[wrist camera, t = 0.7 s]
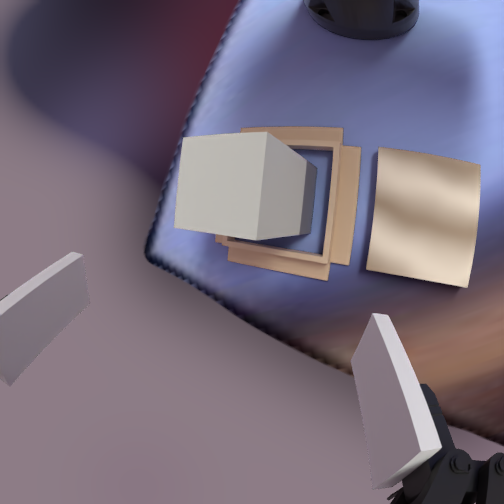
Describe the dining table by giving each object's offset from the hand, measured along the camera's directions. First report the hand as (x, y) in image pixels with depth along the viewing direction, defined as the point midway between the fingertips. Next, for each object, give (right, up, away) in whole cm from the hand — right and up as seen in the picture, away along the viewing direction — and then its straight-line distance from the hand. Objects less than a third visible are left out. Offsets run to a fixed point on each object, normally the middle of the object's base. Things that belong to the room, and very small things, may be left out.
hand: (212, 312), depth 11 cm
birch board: (+19, +6, +12) cm, 23 cm away
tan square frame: (+5, +8, +19) cm, 21 cm away
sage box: (+5, +8, +19) cm, 21 cm away
